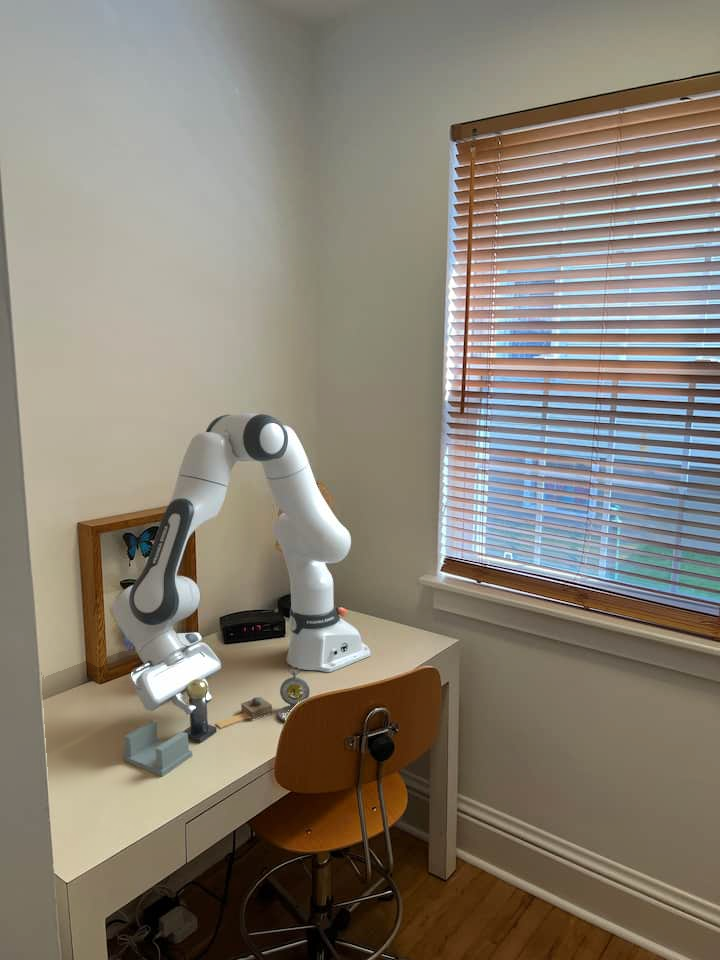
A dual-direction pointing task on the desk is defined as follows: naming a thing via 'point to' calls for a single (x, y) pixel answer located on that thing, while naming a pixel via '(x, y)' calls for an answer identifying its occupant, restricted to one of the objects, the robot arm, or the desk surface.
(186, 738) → the keeper bracket
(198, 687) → the pin
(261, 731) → the desk surface
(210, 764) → the desk surface
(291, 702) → the pocket watch
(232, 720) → the strap
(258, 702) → the anchor block
